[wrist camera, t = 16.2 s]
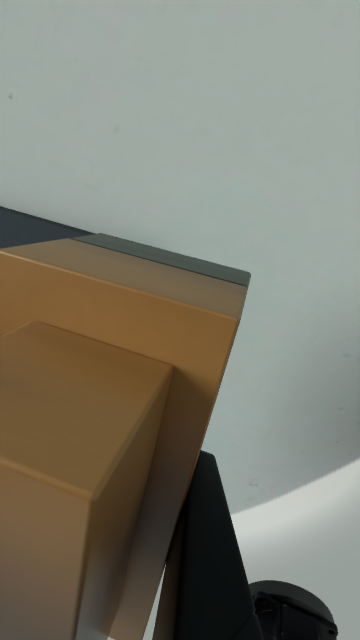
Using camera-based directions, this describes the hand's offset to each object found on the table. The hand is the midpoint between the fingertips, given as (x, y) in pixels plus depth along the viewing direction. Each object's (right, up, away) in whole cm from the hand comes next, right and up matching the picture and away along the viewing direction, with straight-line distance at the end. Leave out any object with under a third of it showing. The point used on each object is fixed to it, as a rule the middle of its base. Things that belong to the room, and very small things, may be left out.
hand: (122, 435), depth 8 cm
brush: (0, +1, +1) cm, 2 cm away
